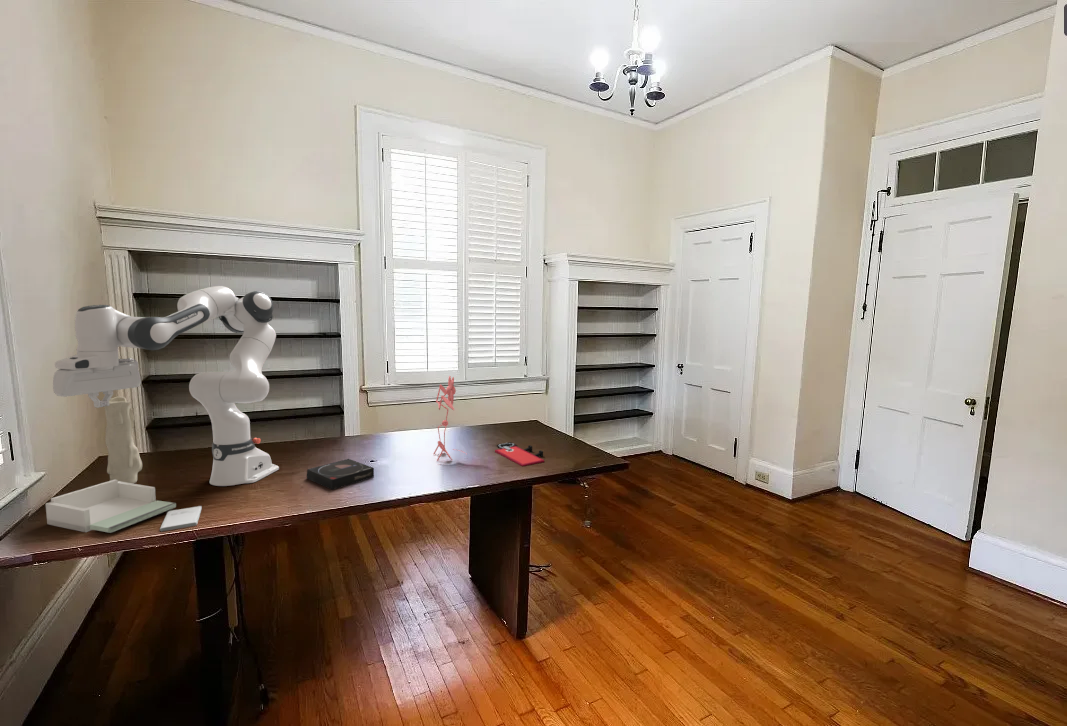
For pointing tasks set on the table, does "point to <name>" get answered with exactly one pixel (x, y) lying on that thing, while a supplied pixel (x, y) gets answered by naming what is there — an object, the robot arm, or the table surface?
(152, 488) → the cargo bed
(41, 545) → the table surface
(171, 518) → the external hard drive
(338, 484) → the portable cd player
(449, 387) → the figurine
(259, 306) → the robot arm
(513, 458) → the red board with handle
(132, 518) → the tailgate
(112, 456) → the cream statue
